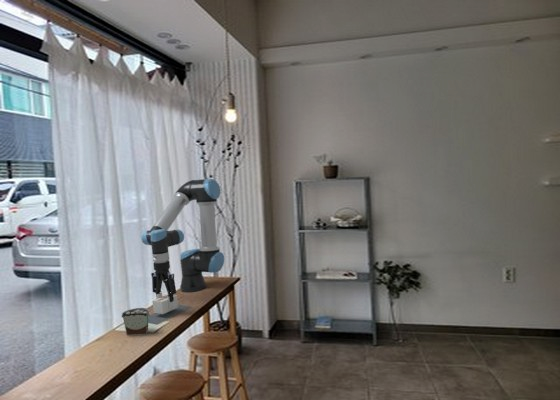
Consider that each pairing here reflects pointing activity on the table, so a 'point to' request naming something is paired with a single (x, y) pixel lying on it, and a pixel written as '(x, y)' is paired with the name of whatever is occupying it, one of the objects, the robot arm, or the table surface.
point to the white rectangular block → (164, 304)
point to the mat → (166, 315)
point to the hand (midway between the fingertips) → (165, 307)
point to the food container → (136, 321)
